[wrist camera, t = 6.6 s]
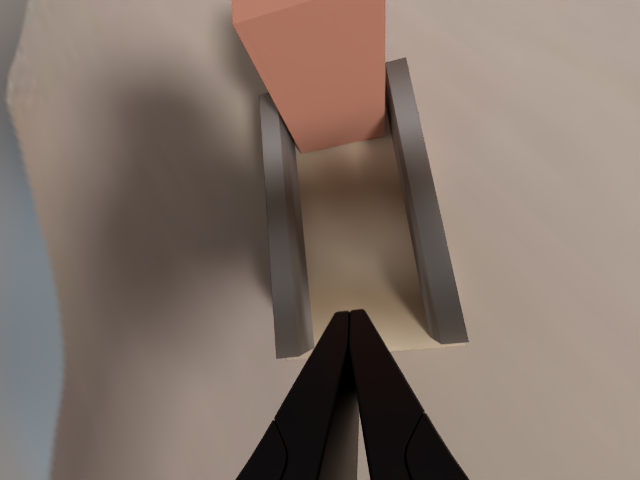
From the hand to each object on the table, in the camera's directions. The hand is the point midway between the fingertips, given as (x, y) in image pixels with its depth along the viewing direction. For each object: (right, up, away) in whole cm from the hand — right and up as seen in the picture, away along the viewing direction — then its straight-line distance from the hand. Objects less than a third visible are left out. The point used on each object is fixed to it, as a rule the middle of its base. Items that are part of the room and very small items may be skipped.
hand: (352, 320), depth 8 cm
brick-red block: (0, +10, +10) cm, 14 cm away
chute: (+1, +4, +9) cm, 10 cm away
